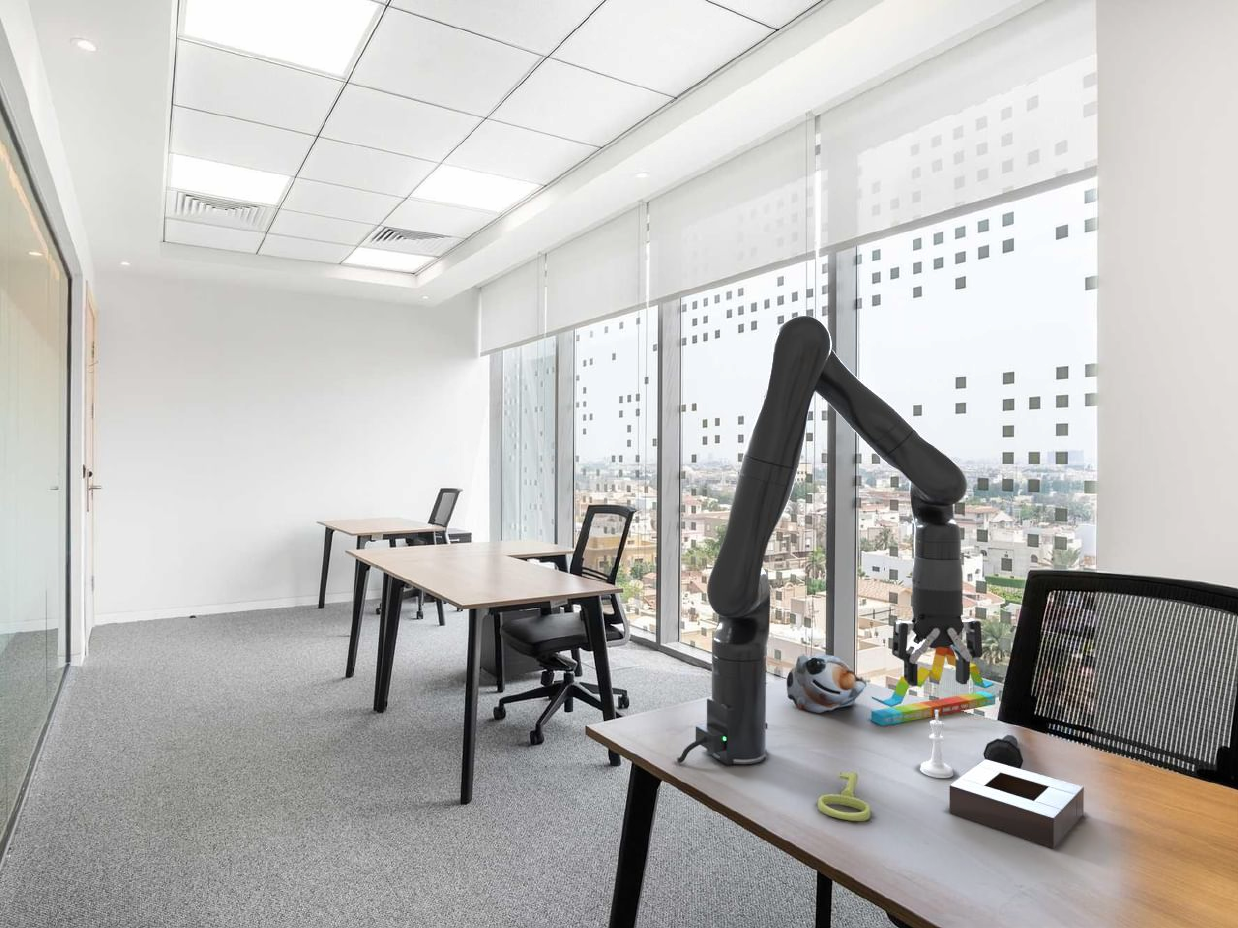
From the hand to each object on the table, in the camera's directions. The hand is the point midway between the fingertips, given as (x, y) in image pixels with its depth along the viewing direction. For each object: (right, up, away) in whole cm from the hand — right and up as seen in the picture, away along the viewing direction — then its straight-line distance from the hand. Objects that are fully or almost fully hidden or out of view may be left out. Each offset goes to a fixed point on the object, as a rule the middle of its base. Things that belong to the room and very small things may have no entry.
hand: (936, 683), depth 121 cm
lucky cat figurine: (-9, -14, +31) cm, 36 cm away
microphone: (+14, -15, +4) cm, 21 cm away
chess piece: (0, -15, 0) cm, 15 cm away
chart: (+12, -14, +28) cm, 34 cm away
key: (-18, -15, -11) cm, 26 cm away
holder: (+5, -14, -14) cm, 21 cm away
